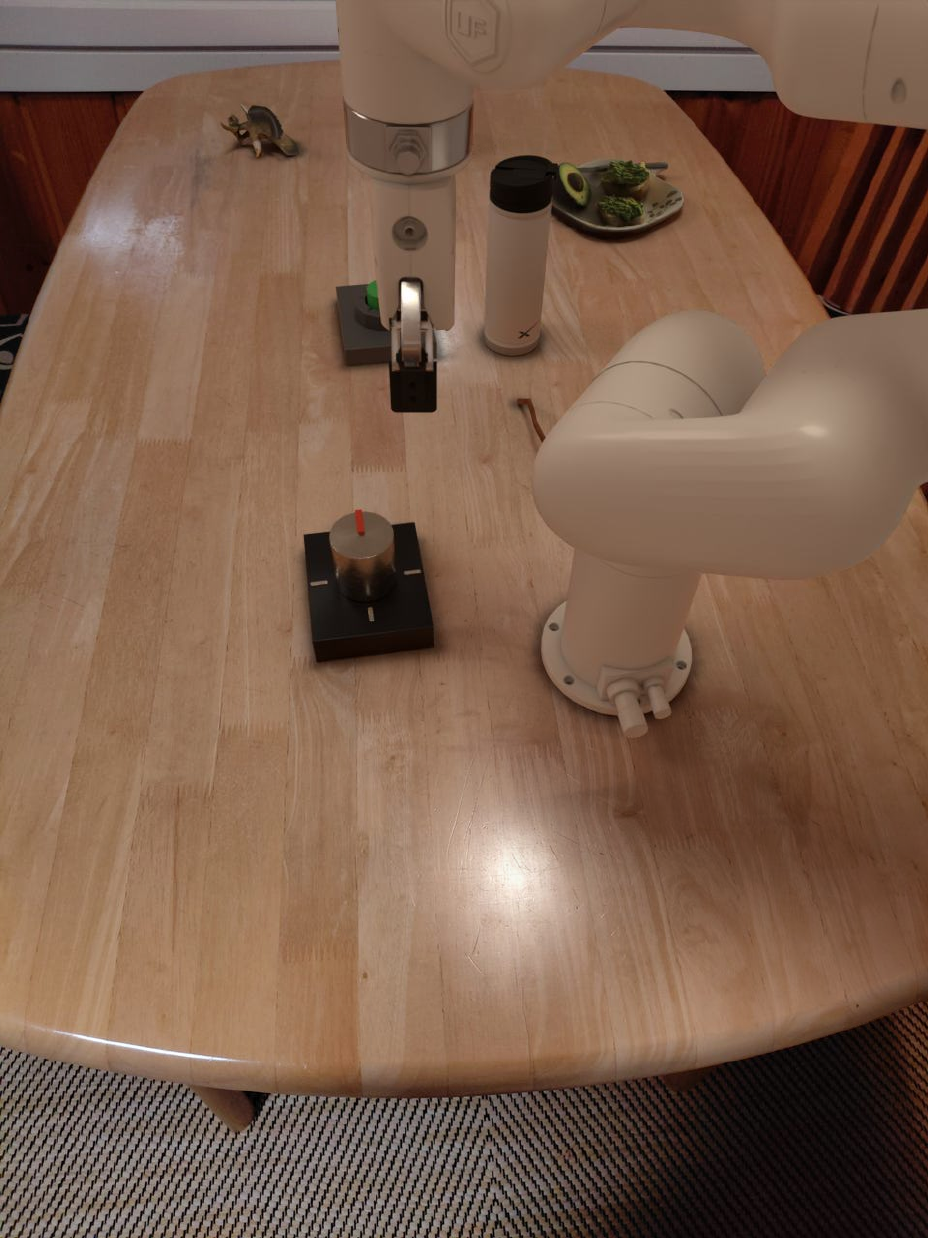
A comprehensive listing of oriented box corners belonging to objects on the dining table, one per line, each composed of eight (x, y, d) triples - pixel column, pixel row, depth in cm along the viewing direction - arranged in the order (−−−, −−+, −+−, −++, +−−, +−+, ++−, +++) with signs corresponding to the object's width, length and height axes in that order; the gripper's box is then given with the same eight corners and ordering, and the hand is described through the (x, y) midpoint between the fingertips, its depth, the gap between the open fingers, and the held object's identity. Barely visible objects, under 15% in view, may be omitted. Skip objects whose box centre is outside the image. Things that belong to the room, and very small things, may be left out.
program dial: (400, 597, 78) (397, 552, 74) (338, 605, 78) (331, 559, 73) (392, 552, 81) (389, 505, 77) (333, 559, 81) (326, 512, 76)
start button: (402, 310, 102) (401, 296, 101) (369, 312, 102) (368, 298, 101) (398, 291, 104) (397, 277, 103) (366, 293, 104) (365, 279, 103)
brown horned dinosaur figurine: (222, 155, 128) (283, 149, 125) (216, 97, 125) (277, 90, 123) (248, 163, 135) (305, 158, 132) (242, 108, 132) (300, 101, 130)
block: (436, 358, 103) (436, 327, 100) (346, 366, 102) (343, 335, 99) (421, 295, 110) (421, 265, 107) (337, 302, 109) (334, 272, 106)
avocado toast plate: (624, 152, 132) (629, 118, 128) (715, 206, 123) (723, 172, 120) (517, 192, 125) (519, 157, 121) (605, 253, 116) (610, 217, 113)
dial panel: (434, 647, 79) (434, 625, 77) (316, 662, 78) (312, 640, 75) (415, 543, 86) (414, 520, 84) (307, 556, 85) (303, 532, 83)
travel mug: (537, 360, 103) (554, 183, 87) (479, 352, 104) (484, 175, 88) (545, 327, 107) (563, 152, 91) (489, 319, 107) (496, 144, 92)
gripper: (477, 206, 50) (468, 446, 63) (468, 64, 60) (462, 297, 74) (336, 204, 49) (358, 446, 63) (352, 62, 60) (367, 296, 73)
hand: (414, 365), depth 68 cm, fingers open, 9 cm apart
